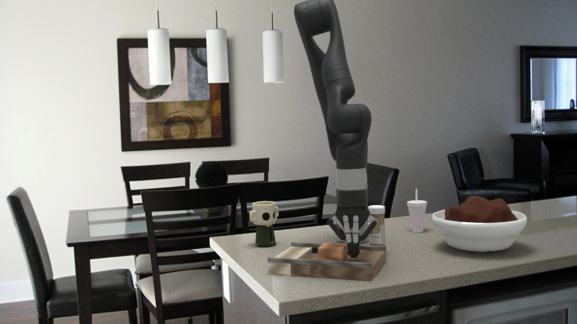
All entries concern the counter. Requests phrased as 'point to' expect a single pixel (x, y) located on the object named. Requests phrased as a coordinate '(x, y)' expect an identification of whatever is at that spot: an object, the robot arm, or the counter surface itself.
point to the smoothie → (417, 214)
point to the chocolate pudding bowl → (480, 225)
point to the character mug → (264, 221)
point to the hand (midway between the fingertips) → (353, 257)
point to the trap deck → (327, 263)
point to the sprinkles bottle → (377, 226)
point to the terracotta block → (333, 252)
